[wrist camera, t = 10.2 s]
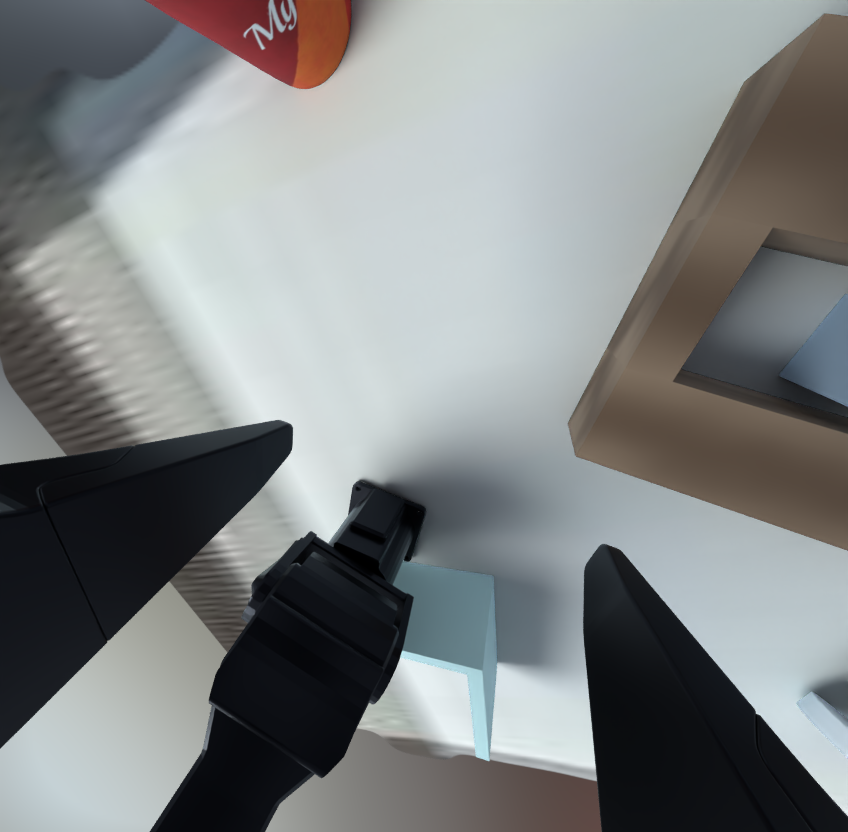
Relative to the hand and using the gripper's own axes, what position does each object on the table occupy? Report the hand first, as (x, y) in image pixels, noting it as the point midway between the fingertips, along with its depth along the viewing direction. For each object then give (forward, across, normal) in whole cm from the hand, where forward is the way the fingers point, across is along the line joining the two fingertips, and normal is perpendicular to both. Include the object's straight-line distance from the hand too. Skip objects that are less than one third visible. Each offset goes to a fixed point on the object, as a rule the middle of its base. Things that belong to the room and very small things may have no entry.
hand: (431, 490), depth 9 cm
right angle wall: (+13, -3, +25) cm, 29 cm away
